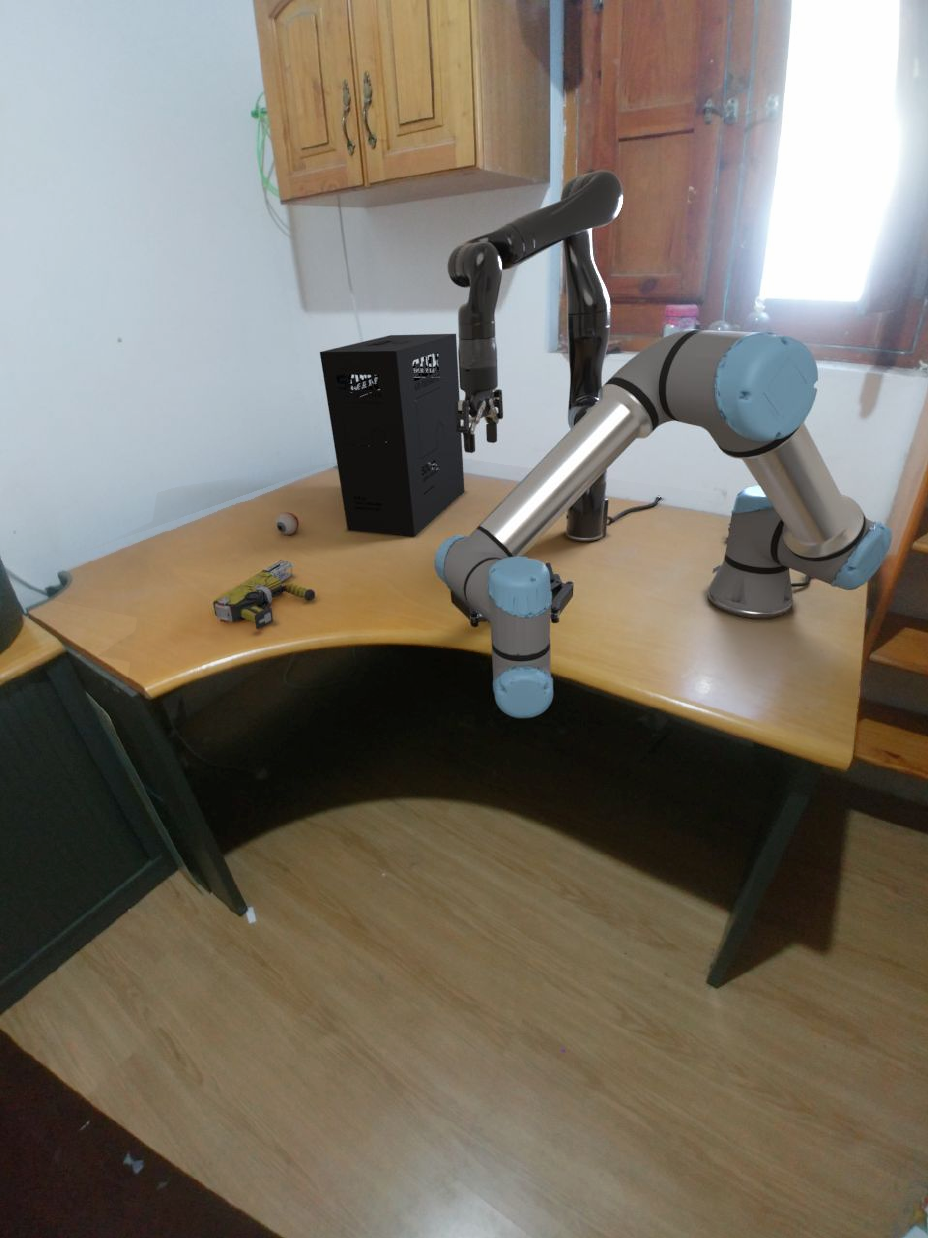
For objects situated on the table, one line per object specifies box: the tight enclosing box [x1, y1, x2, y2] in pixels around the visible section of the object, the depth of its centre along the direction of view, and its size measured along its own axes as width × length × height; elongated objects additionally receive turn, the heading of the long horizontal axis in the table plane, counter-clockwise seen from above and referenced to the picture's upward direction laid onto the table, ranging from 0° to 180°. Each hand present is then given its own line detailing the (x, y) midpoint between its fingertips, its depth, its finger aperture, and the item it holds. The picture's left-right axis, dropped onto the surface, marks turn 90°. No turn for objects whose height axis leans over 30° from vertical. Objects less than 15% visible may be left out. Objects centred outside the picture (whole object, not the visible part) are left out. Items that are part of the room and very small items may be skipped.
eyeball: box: [275, 511, 300, 536], centre depth 163 cm, size 6×6×6 cm
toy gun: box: [212, 559, 316, 630], centre depth 129 cm, size 5×24×15 cm
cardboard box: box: [319, 333, 465, 537], centre depth 166 cm, size 38×20×45 cm, turn 159°
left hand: (481, 447), depth 125 cm, fingers open, 8 cm apart
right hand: (509, 571), depth 106 cm, fingers open, 13 cm apart
